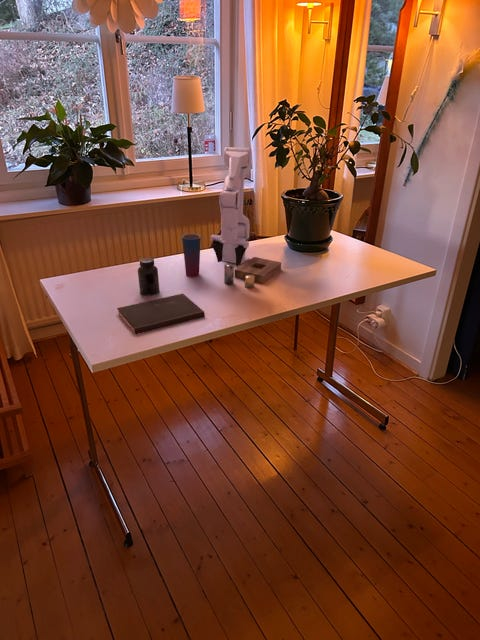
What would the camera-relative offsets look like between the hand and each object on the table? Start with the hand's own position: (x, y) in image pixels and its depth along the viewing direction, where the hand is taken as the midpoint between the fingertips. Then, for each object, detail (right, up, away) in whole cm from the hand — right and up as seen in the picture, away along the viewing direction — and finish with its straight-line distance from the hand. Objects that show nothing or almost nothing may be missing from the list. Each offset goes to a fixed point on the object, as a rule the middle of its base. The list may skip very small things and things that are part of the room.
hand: (229, 263), depth 168 cm
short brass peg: (+7, -8, +1) cm, 11 cm away
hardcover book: (-21, -19, -19) cm, 35 cm away
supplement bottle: (-28, -11, -4) cm, 30 cm away
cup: (-14, -3, +10) cm, 18 cm away
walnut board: (+11, -2, +13) cm, 17 cm away
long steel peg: (0, -7, +4) cm, 8 cm away
